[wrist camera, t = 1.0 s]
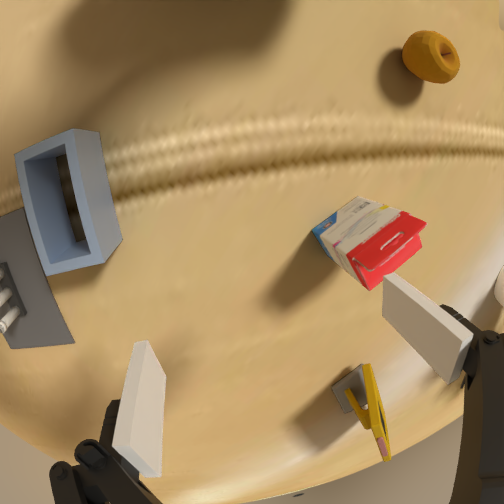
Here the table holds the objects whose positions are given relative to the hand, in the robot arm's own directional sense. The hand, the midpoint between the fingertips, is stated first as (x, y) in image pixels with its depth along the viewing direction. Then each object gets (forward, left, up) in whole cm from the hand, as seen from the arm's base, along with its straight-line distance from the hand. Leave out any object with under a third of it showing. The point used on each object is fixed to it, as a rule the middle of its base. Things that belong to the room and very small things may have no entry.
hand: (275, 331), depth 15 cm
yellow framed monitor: (+38, +18, -23) cm, 48 cm away
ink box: (+3, +15, -23) cm, 28 cm away
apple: (-21, +31, -23) cm, 44 cm away
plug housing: (-8, -18, -23) cm, 30 cm away
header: (+2, -36, -23) cm, 43 cm away
